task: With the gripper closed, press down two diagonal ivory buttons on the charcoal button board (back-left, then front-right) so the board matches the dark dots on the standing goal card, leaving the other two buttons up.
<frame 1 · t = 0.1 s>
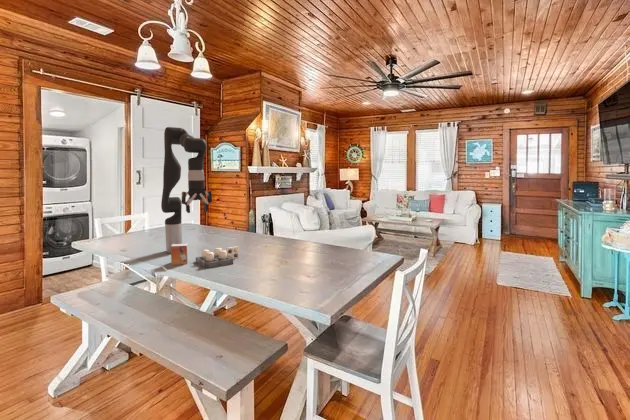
hand: (197, 212, 169), 29 cm above the table, tool pointing down, fingers open, 8 cm apart
goal card: (232, 259, 191), on the table
button b: (223, 255, 181), point 5 cm above the table, slide at 0.0 cm
button c: (205, 254, 183), point 5 cm above the table, slide at 0.0 cm
small box: (180, 264, 182), on the table
button a: (210, 257, 177), point 5 cm above the table, slide at 0.0 cm
board: (214, 263, 183), on the table
button d: (218, 252, 187), point 5 cm above the table, slide at 0.0 cm
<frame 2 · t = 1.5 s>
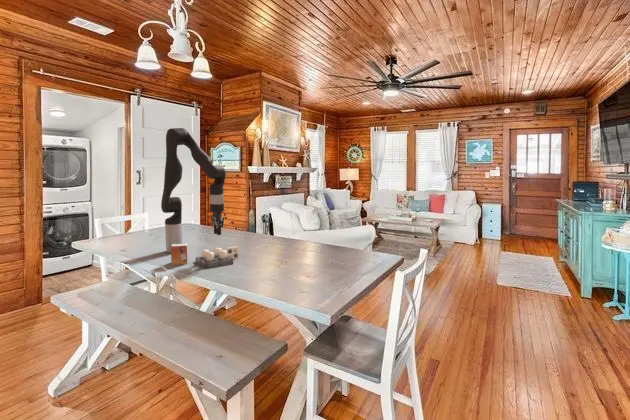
hand: (217, 234, 186), 15 cm above the table, tool pointing down, fingers open, 3 cm apart
nothing on the table moved.
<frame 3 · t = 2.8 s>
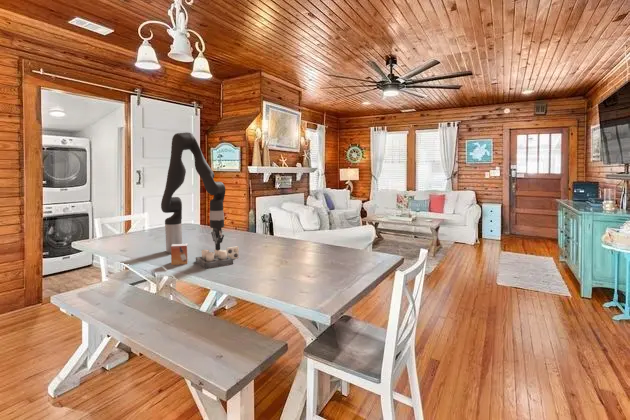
hand: (217, 250, 186), 6 cm above the table, tool pointing down, fingers closed
button d: (218, 253, 187), point 4 cm above the table, slide at -0.7 cm, touching gripper
everything else where it was.
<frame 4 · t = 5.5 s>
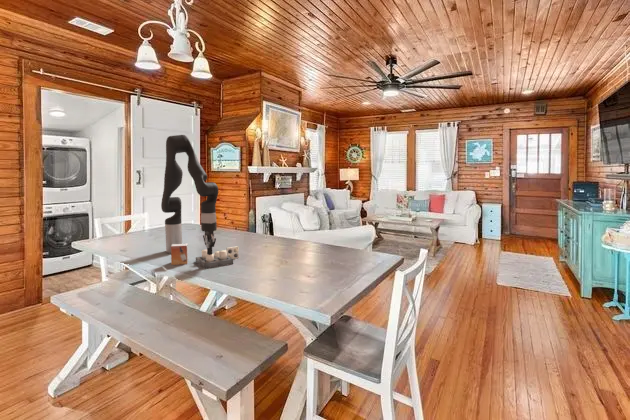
hand: (209, 254, 177), 6 cm above the table, tool pointing down, fingers closed
button a: (210, 258, 177), point 4 cm above the table, slide at -0.7 cm, touching gripper
button d: (218, 256, 187), point 3 cm above the table, slide at -1.9 cm
everything else where it was.
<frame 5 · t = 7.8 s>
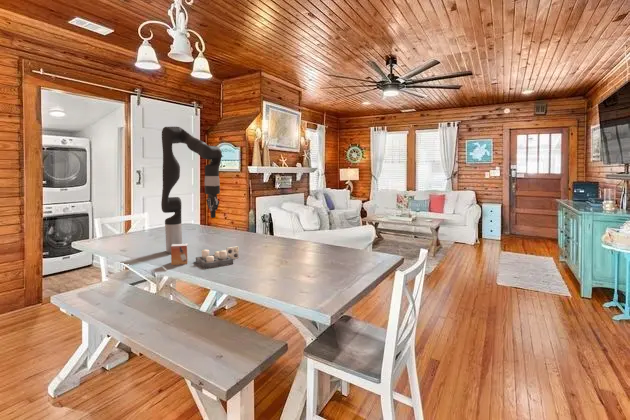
hand: (213, 217, 179), 25 cm above the table, tool pointing down, fingers closed
button a: (210, 260, 177), point 3 cm above the table, slide at -1.9 cm
everything else where it was.
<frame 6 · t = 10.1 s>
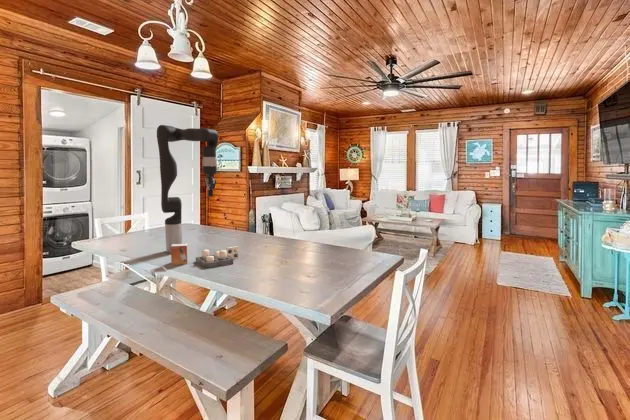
hand: (210, 196, 192), 35 cm above the table, tool pointing down, fingers closed
nothing on the table moved.
at the end: button d slide at -1.9 cm; button a slide at -1.9 cm; button b slide at 0.0 cm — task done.
